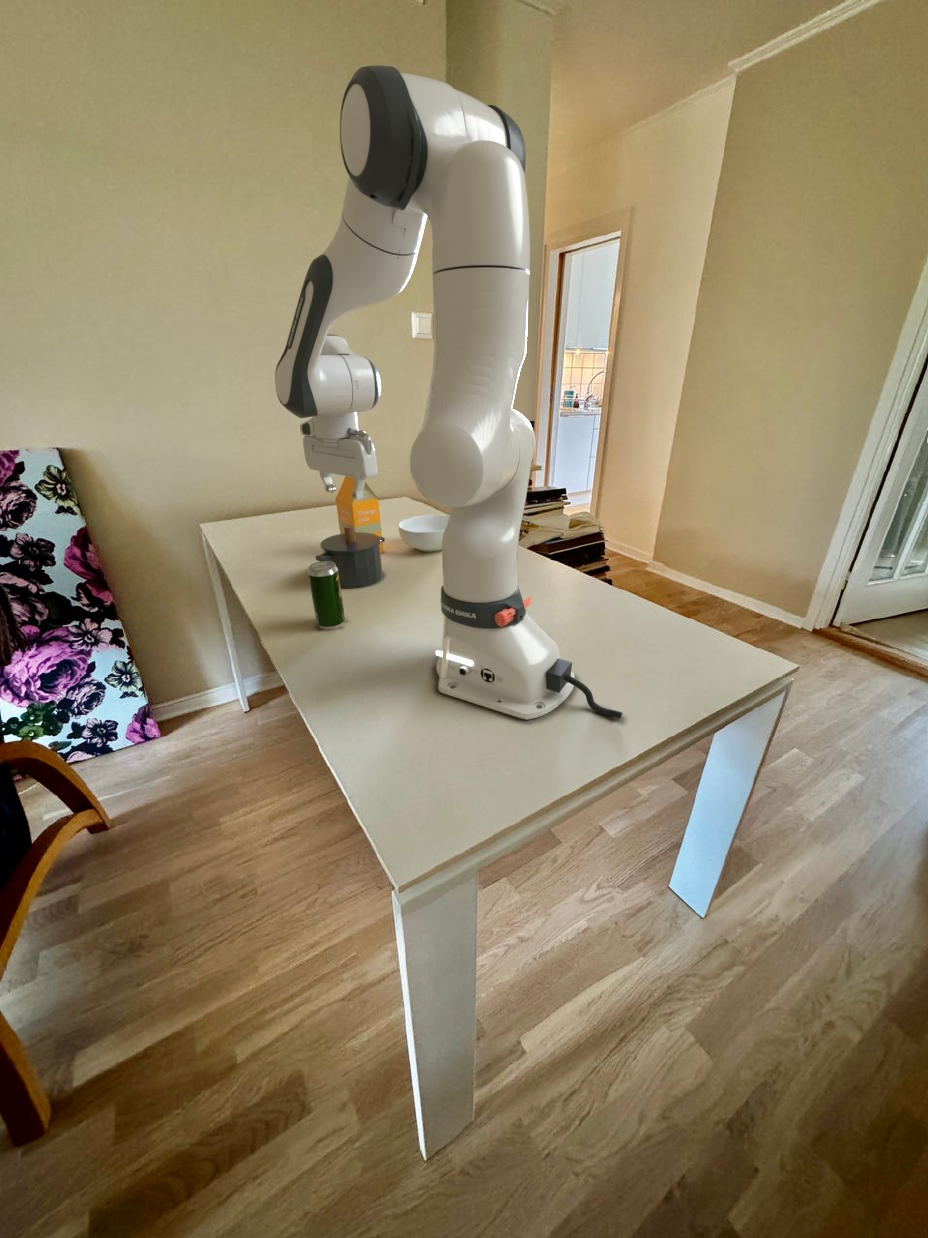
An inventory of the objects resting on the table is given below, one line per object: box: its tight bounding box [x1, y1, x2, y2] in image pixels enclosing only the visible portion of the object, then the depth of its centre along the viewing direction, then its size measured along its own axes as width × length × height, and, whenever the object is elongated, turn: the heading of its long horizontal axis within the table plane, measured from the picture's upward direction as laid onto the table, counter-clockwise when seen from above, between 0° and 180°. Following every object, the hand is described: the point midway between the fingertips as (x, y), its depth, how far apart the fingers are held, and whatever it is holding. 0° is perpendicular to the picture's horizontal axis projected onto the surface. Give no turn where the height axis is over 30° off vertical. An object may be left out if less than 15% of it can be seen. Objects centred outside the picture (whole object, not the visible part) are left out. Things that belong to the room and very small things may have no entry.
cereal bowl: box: [397, 514, 449, 553], centre depth 131 cm, size 17×17×7 cm
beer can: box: [307, 561, 346, 631], centre depth 90 cm, size 5×5×12 cm
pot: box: [315, 536, 386, 589], centre depth 112 cm, size 13×18×8 cm
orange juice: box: [335, 476, 384, 554], centre depth 126 cm, size 8×9×20 cm
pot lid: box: [319, 525, 381, 553], centre depth 109 cm, size 14×14×5 cm
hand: (344, 495), depth 105 cm, fingers open, 8 cm apart
